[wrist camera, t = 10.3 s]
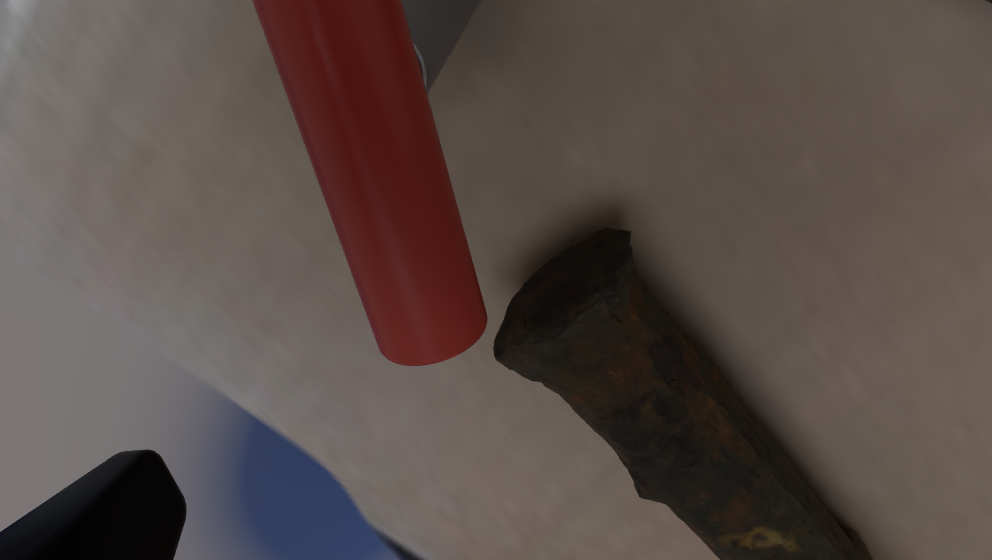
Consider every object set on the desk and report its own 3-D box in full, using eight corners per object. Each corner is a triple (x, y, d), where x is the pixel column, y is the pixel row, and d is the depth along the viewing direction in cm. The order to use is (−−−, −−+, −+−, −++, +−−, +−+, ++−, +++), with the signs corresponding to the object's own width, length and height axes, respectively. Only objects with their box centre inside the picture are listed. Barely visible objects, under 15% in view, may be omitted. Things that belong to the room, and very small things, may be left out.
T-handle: (446, -248, 15) (295, -282, 8) (528, 137, 19) (480, 361, 12) (359, -224, 16) (136, -234, 8) (457, 149, 20) (366, 373, 12)
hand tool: (494, 277, 21) (469, 387, 18) (619, 201, 20) (622, 304, 16) (819, 650, 28) (852, 789, 24) (931, 617, 27) (987, 760, 23)
